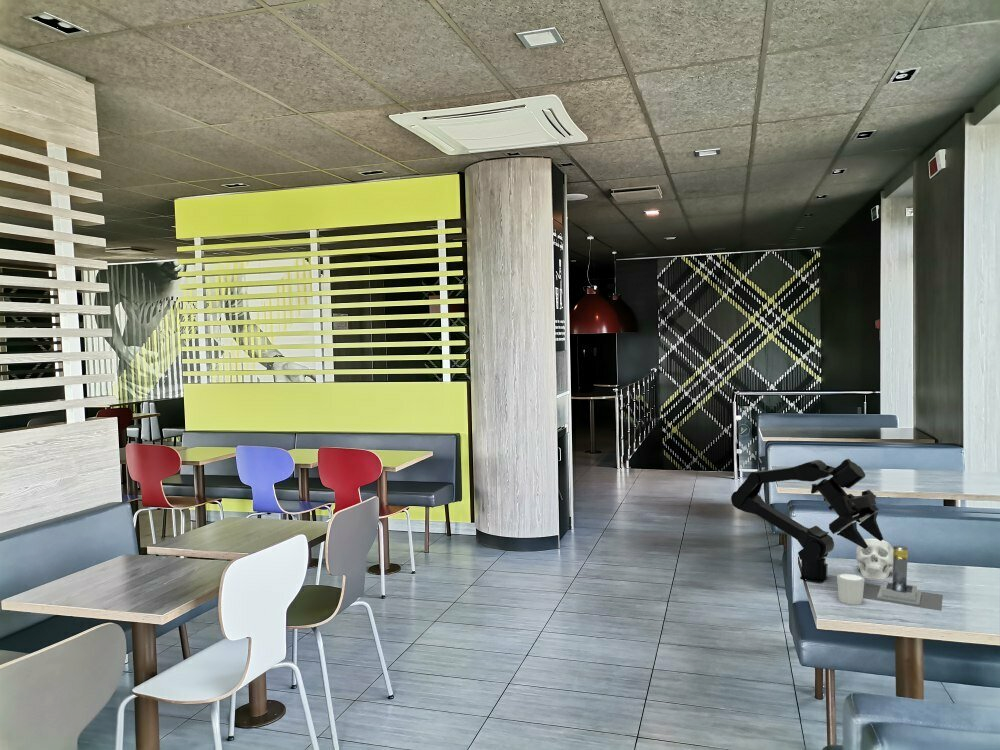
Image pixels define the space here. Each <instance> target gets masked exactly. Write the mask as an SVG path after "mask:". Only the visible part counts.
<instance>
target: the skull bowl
mask: <svg viewBox="0 0 1000 750" xmlns="http://www.w3.org/2000/svg"><path fill="white" fill-rule="evenodd" d="M863 539H864V540H865V542H866V544H867V545H868V547H867V548H866V549H864V548H862V547H861V546H859V545H856V546H857V547H856V553H855V554H856V561H857V564H858V567H859V570H860V574H861V576H862V577H864V578H866V579H871V580H875V581H876V580H878V581H879V580H886V579H888V578H889V576H890V573H891V572H893V547H892V545H891V544H890V542H888V541H886V540H884V539H883V540H882V541H879V540H878V539H876V538H863Z"/></svg>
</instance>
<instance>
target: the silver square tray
mask: <svg viewBox="0 0 1000 750" xmlns="http://www.w3.org/2000/svg"><path fill="white" fill-rule="evenodd" d="M880 586H881V587H880V590H879V593H878V595H877V599H879V600H885V601H892V602H898V603H904V604H910V605H917V606H920V600H921V592H922V591H920V592H918V591H919V590H918V586H917V585H913V584H912V585H911V584H907V585H906V592H903V591H897V590H892V581H884V582H883V585H880Z"/></svg>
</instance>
